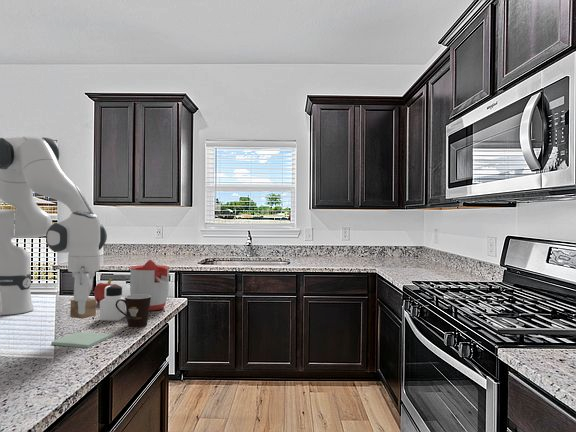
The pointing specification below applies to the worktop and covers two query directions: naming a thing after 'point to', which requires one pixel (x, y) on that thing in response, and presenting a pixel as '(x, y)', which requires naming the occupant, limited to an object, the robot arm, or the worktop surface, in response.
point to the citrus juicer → (151, 283)
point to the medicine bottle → (112, 304)
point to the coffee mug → (136, 309)
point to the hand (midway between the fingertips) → (82, 310)
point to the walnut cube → (89, 309)
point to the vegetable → (101, 290)
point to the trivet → (81, 339)
